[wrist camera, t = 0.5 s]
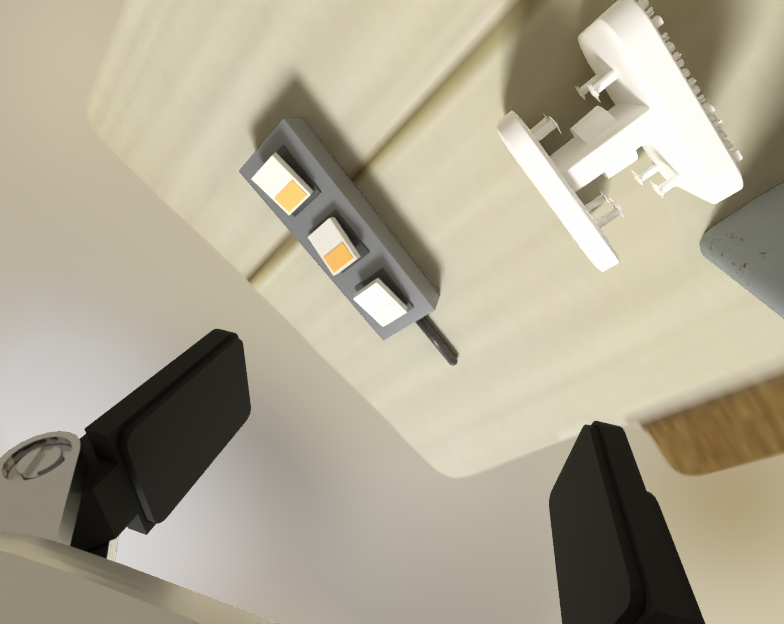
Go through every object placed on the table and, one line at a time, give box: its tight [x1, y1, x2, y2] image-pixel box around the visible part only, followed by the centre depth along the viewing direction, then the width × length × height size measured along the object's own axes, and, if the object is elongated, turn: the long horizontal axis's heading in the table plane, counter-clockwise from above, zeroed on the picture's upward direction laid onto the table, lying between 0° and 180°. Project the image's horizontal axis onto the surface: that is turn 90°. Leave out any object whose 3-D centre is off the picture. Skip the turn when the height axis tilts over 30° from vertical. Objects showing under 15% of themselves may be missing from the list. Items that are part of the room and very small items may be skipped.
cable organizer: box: [497, 0, 743, 272], centre depth 30 cm, size 15×11×12 cm
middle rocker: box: [308, 217, 361, 276], centre depth 40 cm, size 5×4×1 cm
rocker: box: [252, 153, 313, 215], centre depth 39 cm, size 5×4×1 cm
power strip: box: [239, 117, 458, 365], centre depth 44 cm, size 34×8×5 cm, turn 40°
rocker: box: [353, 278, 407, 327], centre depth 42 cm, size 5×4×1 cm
